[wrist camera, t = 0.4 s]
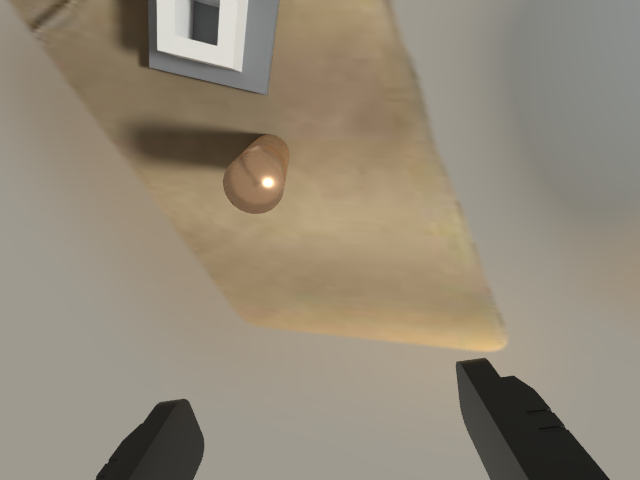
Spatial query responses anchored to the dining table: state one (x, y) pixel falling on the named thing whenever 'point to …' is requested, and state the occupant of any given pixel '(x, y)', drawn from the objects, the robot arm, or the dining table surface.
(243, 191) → the copper pipe
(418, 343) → the dining table surface
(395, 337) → the dining table surface
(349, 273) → the dining table surface
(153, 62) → the socket plate
